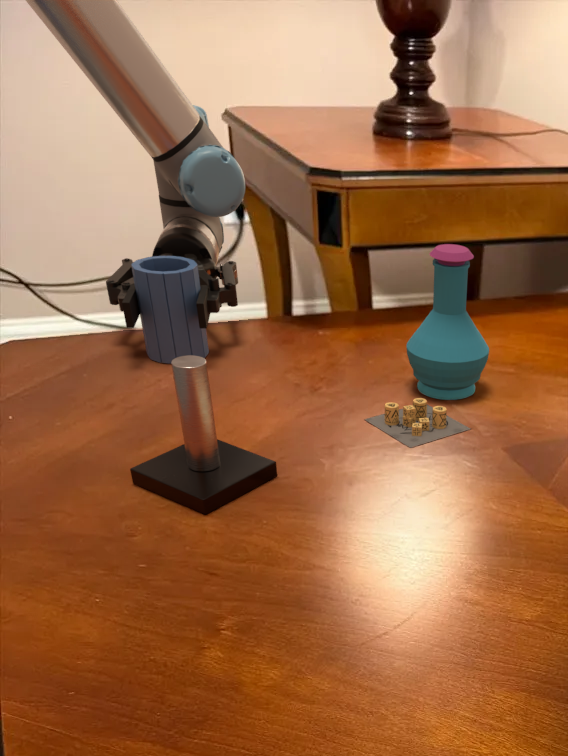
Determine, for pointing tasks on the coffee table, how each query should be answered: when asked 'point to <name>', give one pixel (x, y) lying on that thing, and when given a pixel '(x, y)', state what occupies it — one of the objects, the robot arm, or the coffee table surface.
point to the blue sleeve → (169, 307)
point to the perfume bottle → (448, 332)
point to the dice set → (416, 422)
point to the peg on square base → (201, 451)
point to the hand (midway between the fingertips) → (165, 315)
